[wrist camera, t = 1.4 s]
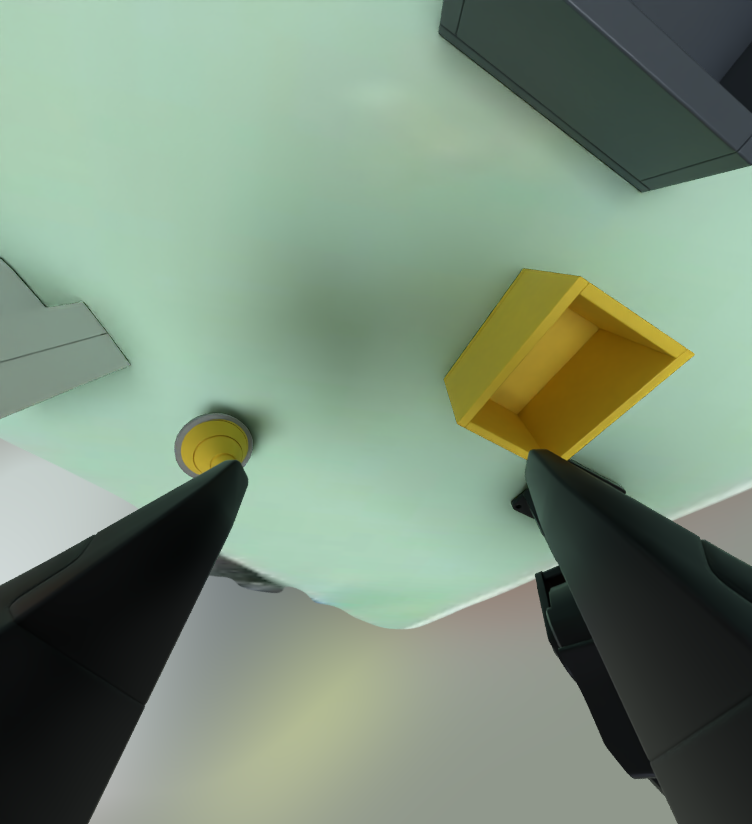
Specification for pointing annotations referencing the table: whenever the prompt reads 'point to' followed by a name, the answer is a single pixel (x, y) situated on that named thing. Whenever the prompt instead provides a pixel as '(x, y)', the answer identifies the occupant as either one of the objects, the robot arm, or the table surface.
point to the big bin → (625, 76)
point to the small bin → (557, 365)
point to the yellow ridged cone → (212, 443)
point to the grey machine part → (47, 347)
